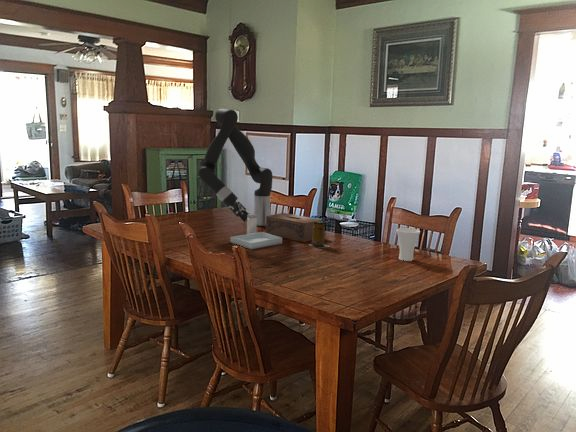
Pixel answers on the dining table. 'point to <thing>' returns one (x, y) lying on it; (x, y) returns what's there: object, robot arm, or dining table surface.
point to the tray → (256, 240)
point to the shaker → (251, 223)
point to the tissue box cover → (290, 226)
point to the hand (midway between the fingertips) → (247, 219)
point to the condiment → (318, 235)
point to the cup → (407, 242)
